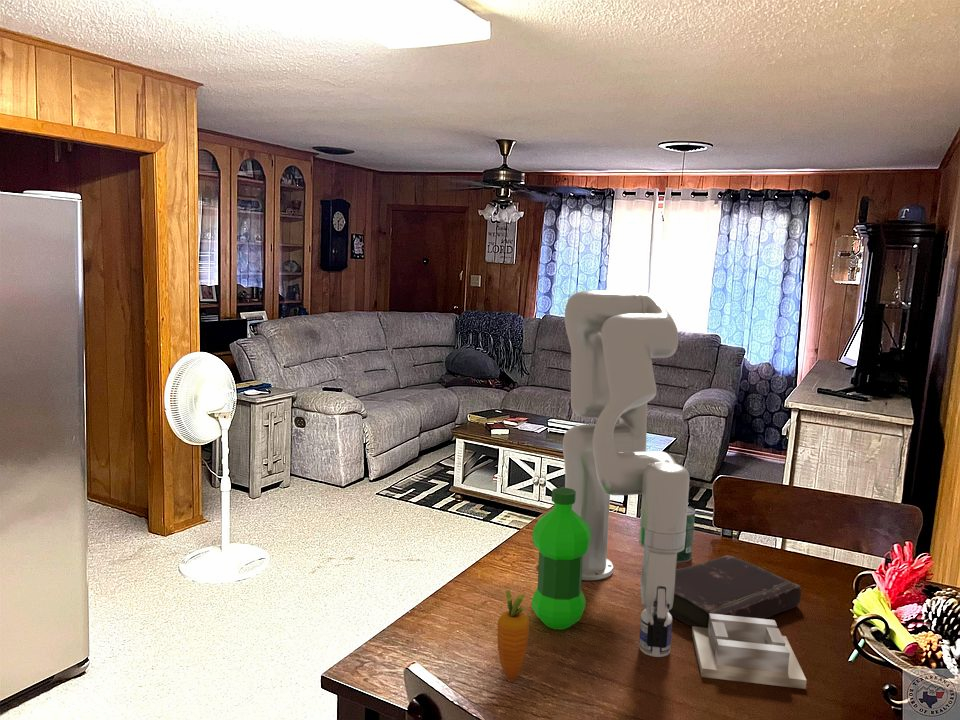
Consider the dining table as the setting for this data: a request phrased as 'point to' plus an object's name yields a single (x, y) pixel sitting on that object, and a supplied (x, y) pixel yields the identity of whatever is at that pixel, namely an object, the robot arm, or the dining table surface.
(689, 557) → the canned tomato
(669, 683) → the dining table surface
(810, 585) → the dining table surface
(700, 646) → the socket board
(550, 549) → the plastic bottle
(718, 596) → the diary
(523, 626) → the carrot
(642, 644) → the pill bottle
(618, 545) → the dining table surface
